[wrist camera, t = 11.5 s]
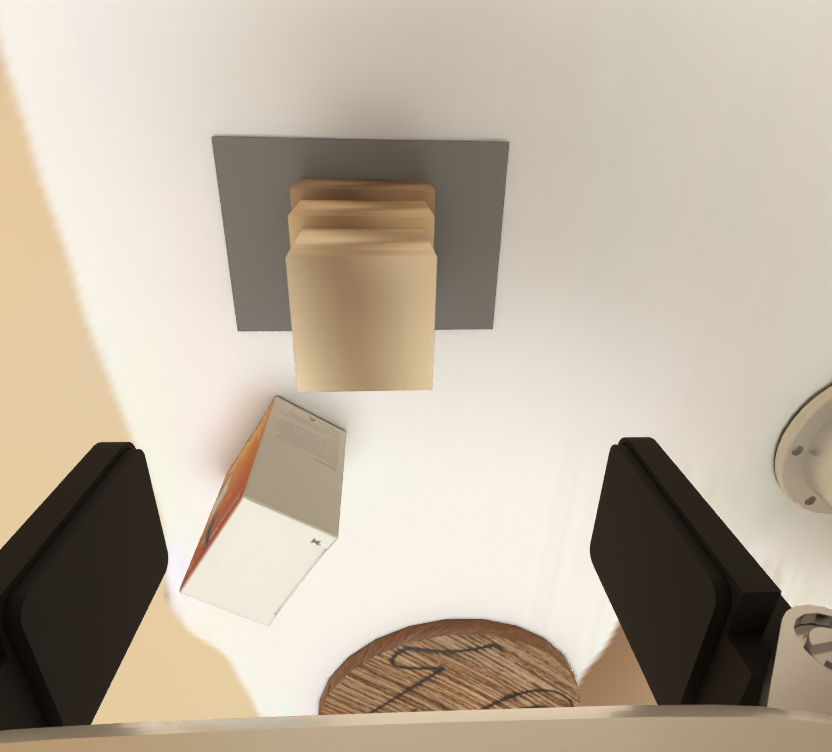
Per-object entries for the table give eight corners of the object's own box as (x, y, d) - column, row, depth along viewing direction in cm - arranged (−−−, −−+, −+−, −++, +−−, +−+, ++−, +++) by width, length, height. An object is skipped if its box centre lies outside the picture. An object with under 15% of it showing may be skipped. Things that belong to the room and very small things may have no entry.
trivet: (266, 723, 52) (262, 744, 50) (444, 572, 45) (446, 591, 43) (451, 802, 60) (453, 822, 59) (625, 686, 53) (633, 705, 52)
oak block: (424, 200, 26) (434, 216, 22) (421, 316, 29) (430, 349, 25) (300, 199, 26) (287, 215, 22) (309, 317, 28) (299, 351, 24)
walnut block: (426, 179, 30) (435, 190, 26) (423, 299, 33) (430, 325, 29) (300, 178, 30) (289, 188, 26) (309, 300, 33) (300, 326, 29)
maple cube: (423, 228, 22) (437, 257, 18) (421, 339, 25) (432, 389, 20) (302, 227, 22) (285, 257, 18) (310, 340, 24) (297, 392, 20)
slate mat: (507, 142, 30) (509, 142, 30) (491, 326, 35) (492, 329, 34) (213, 136, 29) (211, 137, 28) (239, 329, 34) (237, 331, 33)
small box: (276, 393, 36) (242, 492, 26) (348, 431, 37) (341, 537, 28) (222, 476, 38) (174, 595, 29) (292, 508, 40) (268, 630, 31)
